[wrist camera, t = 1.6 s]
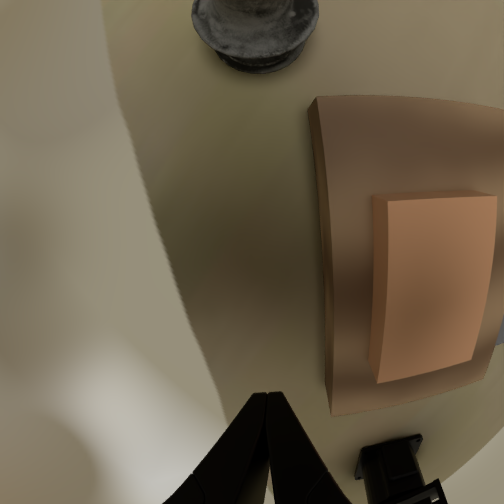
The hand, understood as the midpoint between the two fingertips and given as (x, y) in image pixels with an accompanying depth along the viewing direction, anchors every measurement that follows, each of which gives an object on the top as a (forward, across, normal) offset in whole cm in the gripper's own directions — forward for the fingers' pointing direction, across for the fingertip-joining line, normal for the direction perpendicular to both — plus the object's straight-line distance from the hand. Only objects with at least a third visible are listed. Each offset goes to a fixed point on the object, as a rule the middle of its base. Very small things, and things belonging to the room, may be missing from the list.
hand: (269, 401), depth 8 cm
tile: (+7, -8, 0) cm, 10 cm away
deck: (+10, -9, 0) cm, 14 cm away
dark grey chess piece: (+10, -1, -14) cm, 17 cm away
